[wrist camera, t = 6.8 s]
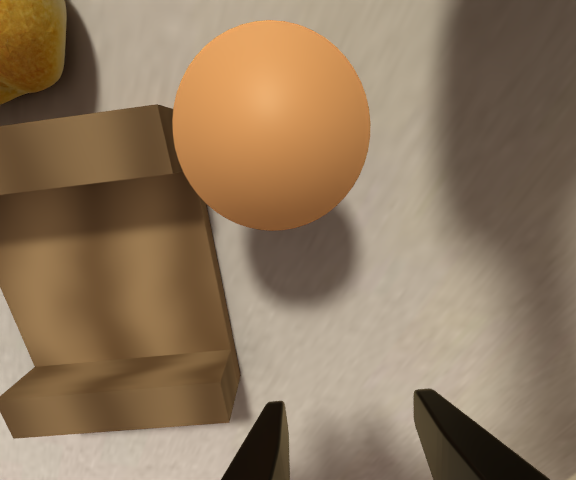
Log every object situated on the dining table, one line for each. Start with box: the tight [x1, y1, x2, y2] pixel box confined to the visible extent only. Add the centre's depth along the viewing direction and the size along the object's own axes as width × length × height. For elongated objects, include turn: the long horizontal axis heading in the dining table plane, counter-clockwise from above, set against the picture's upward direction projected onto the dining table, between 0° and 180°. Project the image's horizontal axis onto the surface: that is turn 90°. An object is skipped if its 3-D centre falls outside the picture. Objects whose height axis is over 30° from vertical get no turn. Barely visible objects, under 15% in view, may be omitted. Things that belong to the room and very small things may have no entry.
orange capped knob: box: [172, 20, 370, 231], centre depth 14 cm, size 7×7×7 cm
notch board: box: [0, 104, 241, 438], centre depth 18 cm, size 14×18×4 cm
